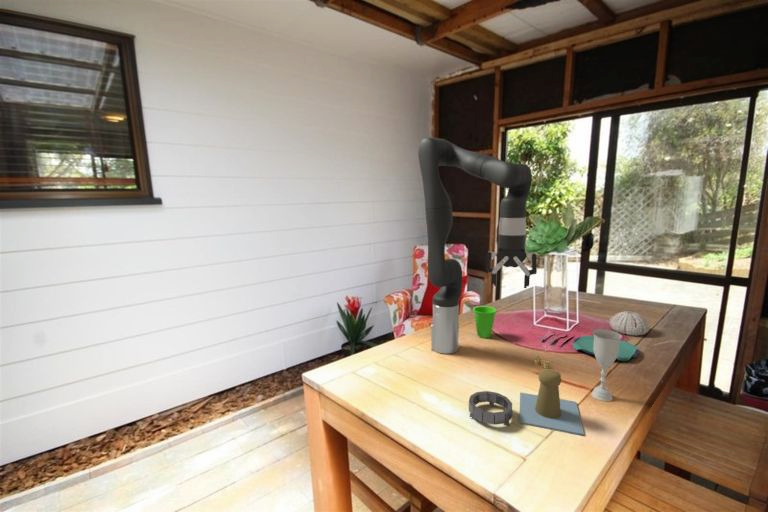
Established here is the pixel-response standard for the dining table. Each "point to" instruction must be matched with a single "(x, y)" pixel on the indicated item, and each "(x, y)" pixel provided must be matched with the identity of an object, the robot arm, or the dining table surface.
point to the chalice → (605, 358)
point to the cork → (549, 394)
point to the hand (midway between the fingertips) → (510, 286)
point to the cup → (484, 320)
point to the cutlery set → (587, 346)
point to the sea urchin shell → (629, 323)
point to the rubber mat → (565, 422)
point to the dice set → (543, 362)
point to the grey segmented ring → (491, 398)
